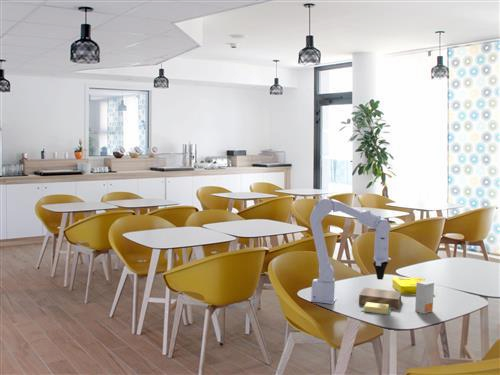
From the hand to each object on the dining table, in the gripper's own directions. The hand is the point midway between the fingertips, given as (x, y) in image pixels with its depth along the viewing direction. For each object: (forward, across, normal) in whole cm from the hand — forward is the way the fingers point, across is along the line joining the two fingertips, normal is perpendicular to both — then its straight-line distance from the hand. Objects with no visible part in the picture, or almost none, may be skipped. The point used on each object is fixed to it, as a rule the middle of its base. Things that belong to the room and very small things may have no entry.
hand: (380, 279), depth 232 cm
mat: (+10, -9, 0) cm, 14 cm away
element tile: (+11, +27, -11) cm, 32 cm away
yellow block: (+8, -11, 0) cm, 14 cm away
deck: (+10, +1, 0) cm, 10 cm away
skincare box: (+11, -4, -18) cm, 22 cm away
